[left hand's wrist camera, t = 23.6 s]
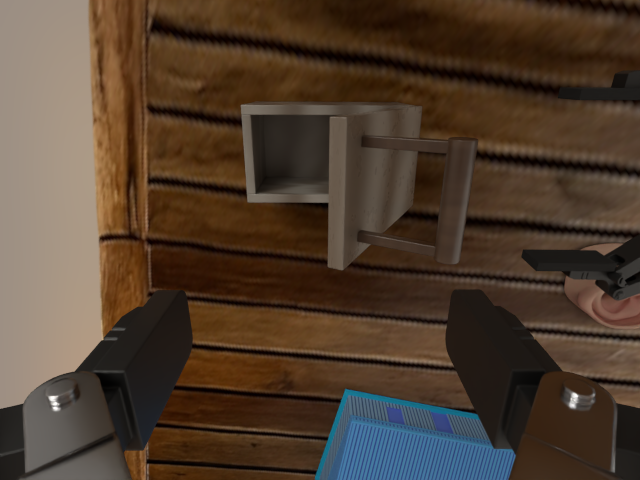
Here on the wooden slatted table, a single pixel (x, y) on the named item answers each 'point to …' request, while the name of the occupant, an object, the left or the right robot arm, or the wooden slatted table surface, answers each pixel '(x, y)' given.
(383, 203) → the lid
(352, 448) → the model building
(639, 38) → the wooden slatted table surface
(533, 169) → the wooden slatted table surface
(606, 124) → the wooden slatted table surface
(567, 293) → the anatomical model
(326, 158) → the chest
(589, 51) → the wooden slatted table surface
